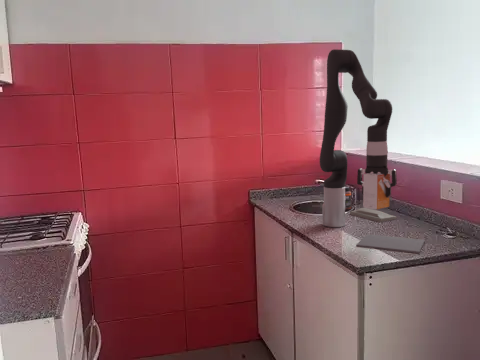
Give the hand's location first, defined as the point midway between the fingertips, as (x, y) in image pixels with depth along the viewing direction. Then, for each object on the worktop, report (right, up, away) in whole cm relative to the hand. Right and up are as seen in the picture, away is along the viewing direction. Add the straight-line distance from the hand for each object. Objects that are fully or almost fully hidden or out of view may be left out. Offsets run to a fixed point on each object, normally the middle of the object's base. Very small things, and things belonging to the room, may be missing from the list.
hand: (376, 196), depth 170 cm
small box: (0, -4, +1) cm, 4 cm away
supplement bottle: (+3, -9, +63) cm, 64 cm away
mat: (+5, -18, 0) cm, 19 cm away
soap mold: (+11, -12, +44) cm, 47 cm away
